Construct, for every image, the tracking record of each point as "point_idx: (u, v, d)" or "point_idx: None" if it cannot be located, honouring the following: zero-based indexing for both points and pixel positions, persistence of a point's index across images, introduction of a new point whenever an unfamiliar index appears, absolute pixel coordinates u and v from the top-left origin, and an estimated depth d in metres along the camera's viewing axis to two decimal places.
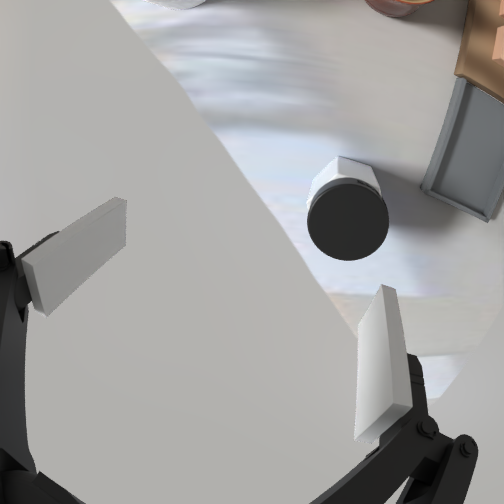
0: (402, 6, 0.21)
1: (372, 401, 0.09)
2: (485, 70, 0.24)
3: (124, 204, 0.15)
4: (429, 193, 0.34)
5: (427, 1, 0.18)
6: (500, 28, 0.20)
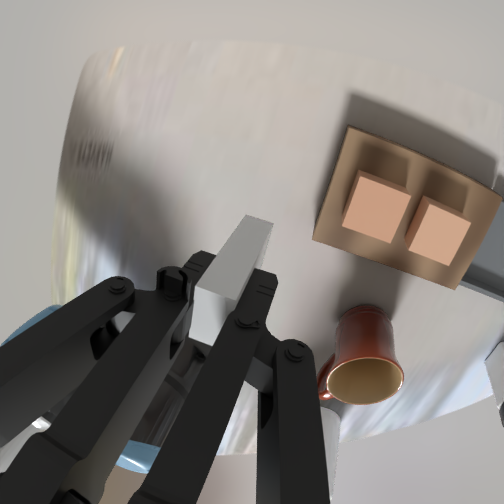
0: None
1: None
2: (453, 263, 0.29)
3: None
4: None
5: (402, 373, 0.29)
6: (408, 243, 0.29)
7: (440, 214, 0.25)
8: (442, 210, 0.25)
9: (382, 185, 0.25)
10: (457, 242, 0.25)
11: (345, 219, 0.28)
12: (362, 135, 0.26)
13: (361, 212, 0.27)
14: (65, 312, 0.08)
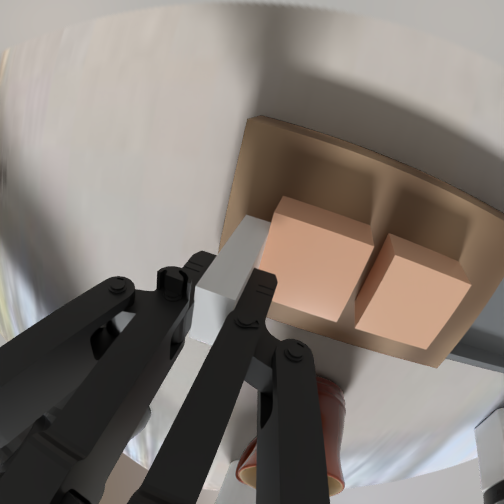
0: None
1: None
2: (437, 335, 0.18)
3: None
4: None
5: (340, 482, 0.18)
6: None
7: (416, 272, 0.14)
8: (419, 265, 0.14)
9: (317, 228, 0.14)
10: (444, 316, 0.15)
11: None
12: (271, 131, 0.15)
13: (281, 274, 0.16)
14: (65, 312, 0.08)
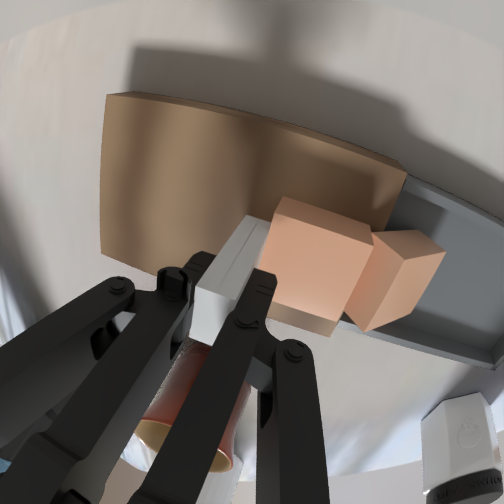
0: (236, 423, 0.23)
1: None
2: None
3: None
4: (497, 364, 0.19)
5: (221, 451, 0.19)
6: None
7: (415, 264, 0.15)
8: (418, 258, 0.15)
9: (317, 228, 0.14)
10: (426, 283, 0.17)
11: None
12: (122, 101, 0.16)
13: (281, 273, 0.16)
14: (65, 312, 0.08)
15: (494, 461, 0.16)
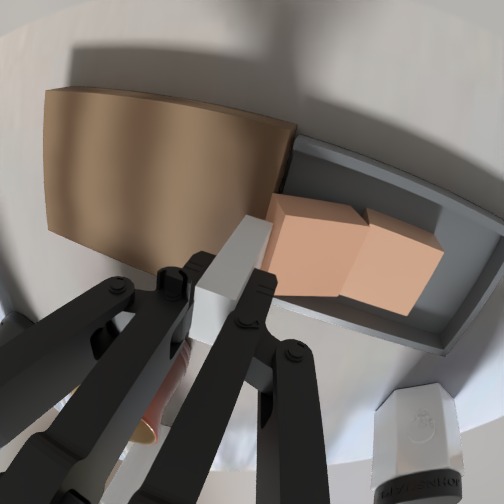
0: (165, 395, 0.24)
1: None
2: None
3: None
4: (447, 350, 0.20)
5: None
6: None
7: None
8: (414, 227, 0.18)
9: (324, 221, 0.15)
10: None
11: None
12: (56, 95, 0.17)
13: (290, 269, 0.17)
14: (65, 312, 0.08)
15: (449, 460, 0.17)
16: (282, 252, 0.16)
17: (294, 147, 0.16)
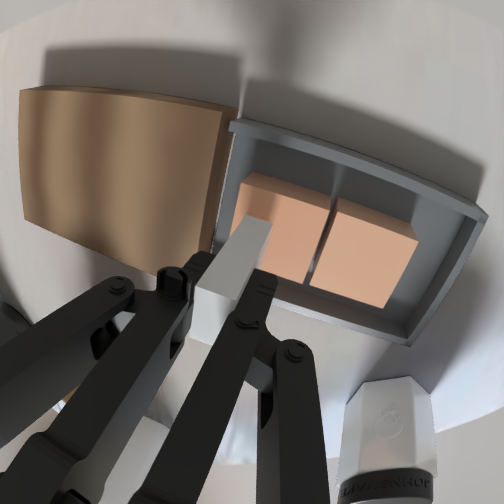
0: None
1: None
2: (168, 245, 0.20)
3: None
4: (412, 339, 0.20)
5: None
6: None
7: None
8: (389, 217, 0.18)
9: (278, 195, 0.17)
10: None
11: None
12: (28, 94, 0.17)
13: None
14: (65, 312, 0.08)
15: (417, 459, 0.17)
16: (241, 218, 0.18)
17: (230, 129, 0.16)
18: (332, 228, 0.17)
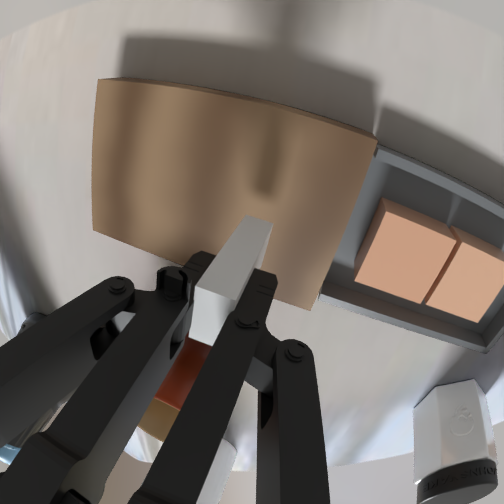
0: None
1: None
2: (294, 267, 0.20)
3: None
4: (489, 347, 0.19)
5: None
6: None
7: None
8: (487, 243, 0.17)
9: (417, 225, 0.16)
10: None
11: (360, 272, 0.19)
12: (112, 84, 0.17)
13: (383, 263, 0.18)
14: (65, 312, 0.08)
15: (488, 450, 0.16)
16: (379, 245, 0.17)
17: (377, 156, 0.16)
18: (455, 256, 0.16)
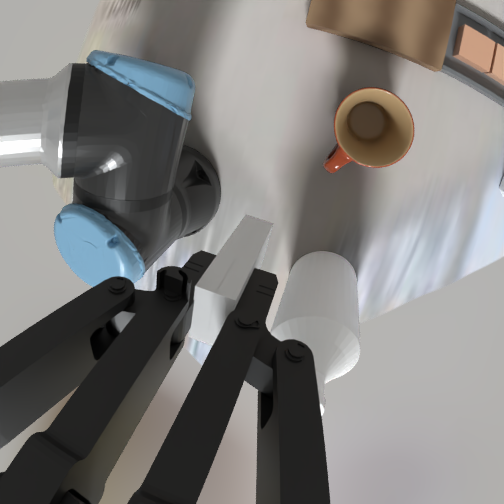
0: None
1: None
2: (431, 44, 0.27)
3: None
4: None
5: (409, 113, 0.27)
6: None
7: None
8: None
9: (478, 32, 0.24)
10: None
11: (460, 50, 0.26)
12: None
13: (469, 47, 0.26)
14: (65, 312, 0.08)
15: None
16: (465, 38, 0.25)
17: (456, 5, 0.24)
18: (497, 49, 0.24)
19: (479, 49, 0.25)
